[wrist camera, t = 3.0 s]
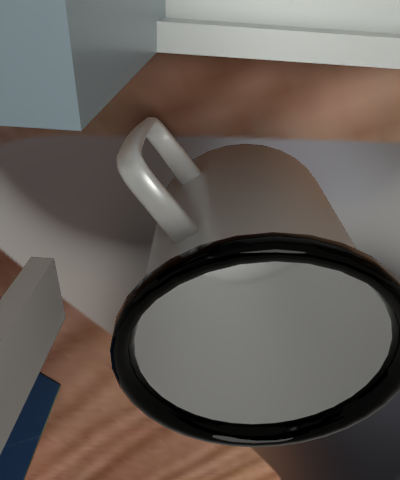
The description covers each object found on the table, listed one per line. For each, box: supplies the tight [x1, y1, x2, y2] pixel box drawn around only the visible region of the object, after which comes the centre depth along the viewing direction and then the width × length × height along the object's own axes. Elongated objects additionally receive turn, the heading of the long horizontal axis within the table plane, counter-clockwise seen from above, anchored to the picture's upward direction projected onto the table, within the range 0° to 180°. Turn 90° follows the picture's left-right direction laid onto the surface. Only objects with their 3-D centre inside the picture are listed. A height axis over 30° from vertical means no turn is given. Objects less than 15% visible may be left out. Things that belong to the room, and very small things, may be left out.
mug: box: [110, 117, 400, 447], centre depth 14 cm, size 12×10×9 cm
